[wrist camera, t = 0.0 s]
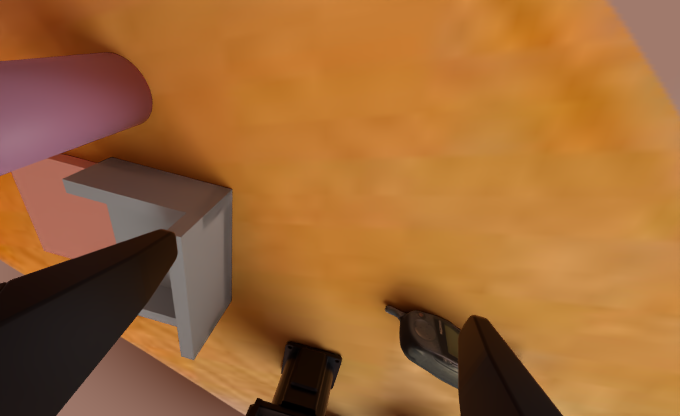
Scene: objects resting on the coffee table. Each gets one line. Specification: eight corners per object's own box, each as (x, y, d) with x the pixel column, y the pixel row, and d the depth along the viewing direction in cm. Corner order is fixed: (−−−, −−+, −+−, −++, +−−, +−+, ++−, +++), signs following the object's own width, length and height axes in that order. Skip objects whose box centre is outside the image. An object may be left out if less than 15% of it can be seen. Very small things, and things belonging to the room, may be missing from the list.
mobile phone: (547, 414, 26) (399, 338, 24) (519, 426, 28) (378, 356, 26) (526, 360, 30) (398, 292, 28) (503, 373, 32) (380, 309, 30)
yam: (156, 132, 25) (-50, 219, 13) (95, 116, 25) (-155, 189, 14) (147, 61, 22) (-121, 98, 11) (79, 45, 22) (-250, 63, 11)
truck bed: (231, 300, 33) (193, 360, 27) (57, 250, 34) (-15, 297, 29) (232, 189, 26) (180, 237, 20) (10, 130, 27) (-100, 159, 21)
